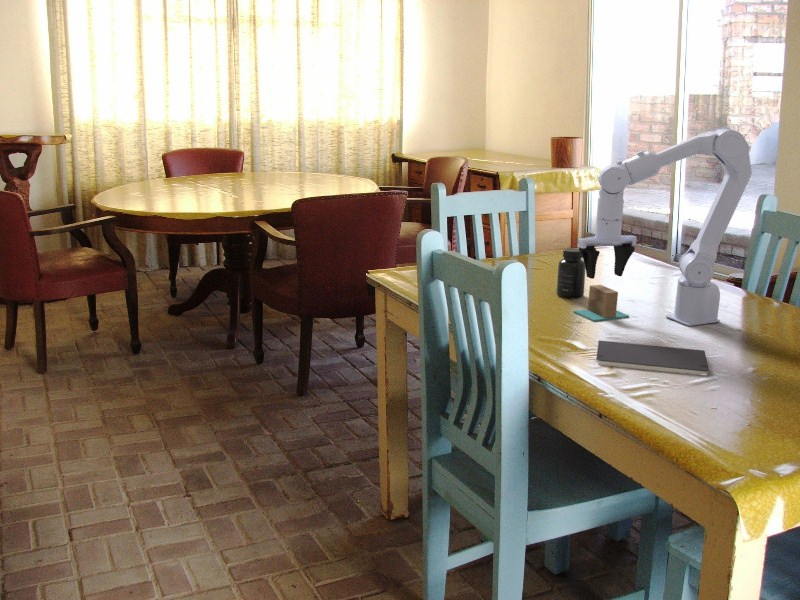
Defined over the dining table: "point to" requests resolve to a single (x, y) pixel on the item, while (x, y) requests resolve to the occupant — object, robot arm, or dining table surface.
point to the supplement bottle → (571, 274)
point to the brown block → (602, 301)
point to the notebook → (652, 357)
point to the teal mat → (595, 317)
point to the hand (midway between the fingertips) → (604, 276)
